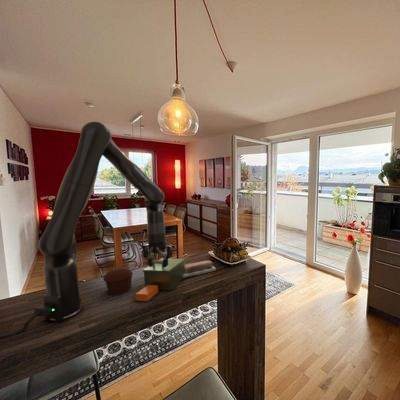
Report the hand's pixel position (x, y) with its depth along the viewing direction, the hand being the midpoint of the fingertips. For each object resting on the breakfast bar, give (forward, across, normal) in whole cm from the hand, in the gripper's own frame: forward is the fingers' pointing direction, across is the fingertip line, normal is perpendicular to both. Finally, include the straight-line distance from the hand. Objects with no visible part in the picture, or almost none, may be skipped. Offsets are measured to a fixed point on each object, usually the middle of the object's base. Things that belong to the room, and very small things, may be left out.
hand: (158, 266), depth 106 cm
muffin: (+11, -18, -3) cm, 21 cm away
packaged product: (+11, +10, +20) cm, 24 cm away
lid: (+2, 0, +5) cm, 5 cm away
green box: (+11, 0, +6) cm, 12 cm away
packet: (+10, -1, -7) cm, 13 cm away
